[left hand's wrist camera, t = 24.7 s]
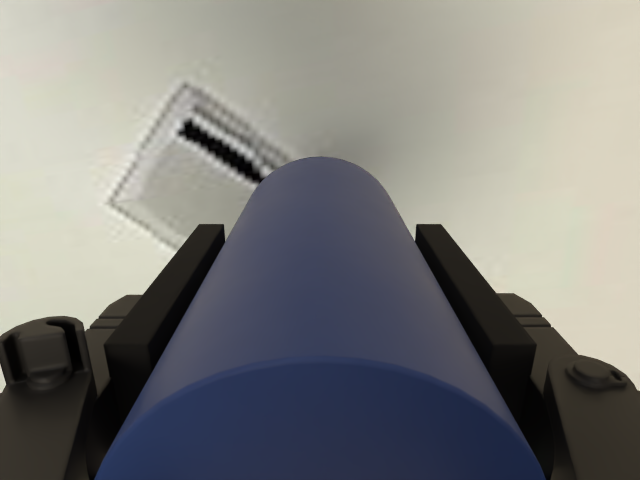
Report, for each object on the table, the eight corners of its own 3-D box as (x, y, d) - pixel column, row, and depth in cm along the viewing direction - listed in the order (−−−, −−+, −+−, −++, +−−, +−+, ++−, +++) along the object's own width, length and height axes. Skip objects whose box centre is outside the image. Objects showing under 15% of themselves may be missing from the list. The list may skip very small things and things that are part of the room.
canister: (403, 157, 16) (607, 362, 5) (392, 304, 18) (514, 694, 7) (238, 155, 16) (40, 354, 5) (245, 302, 18) (119, 690, 7)
